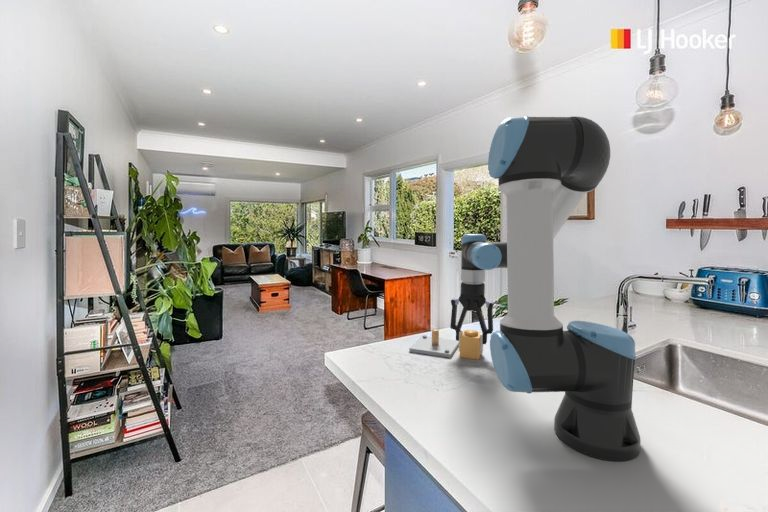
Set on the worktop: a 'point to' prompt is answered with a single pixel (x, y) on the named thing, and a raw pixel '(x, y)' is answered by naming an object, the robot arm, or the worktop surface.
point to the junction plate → (435, 345)
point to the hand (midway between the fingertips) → (470, 351)
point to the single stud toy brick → (470, 344)
